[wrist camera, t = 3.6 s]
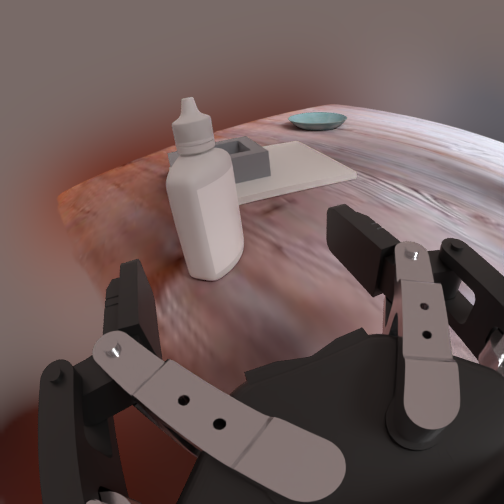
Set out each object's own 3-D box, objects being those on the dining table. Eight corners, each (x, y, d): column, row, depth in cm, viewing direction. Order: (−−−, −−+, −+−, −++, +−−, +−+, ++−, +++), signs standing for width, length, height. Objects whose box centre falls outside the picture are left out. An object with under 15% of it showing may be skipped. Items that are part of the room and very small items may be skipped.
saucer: (320, 137, 50) (320, 125, 48) (277, 128, 58) (276, 118, 57) (358, 127, 55) (358, 117, 54) (316, 119, 63) (315, 110, 62)
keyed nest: (297, 145, 46) (295, 122, 43) (356, 178, 33) (357, 147, 31) (170, 172, 42) (164, 148, 40) (181, 220, 29) (172, 184, 27)
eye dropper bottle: (265, 253, 23) (246, 89, 16) (204, 290, 20) (159, 109, 13) (230, 233, 26) (207, 91, 19) (174, 264, 23) (132, 110, 16)
